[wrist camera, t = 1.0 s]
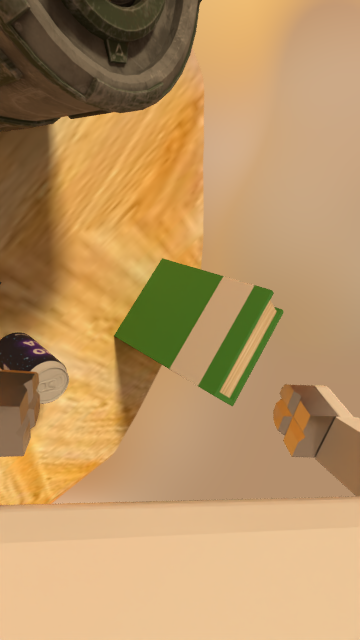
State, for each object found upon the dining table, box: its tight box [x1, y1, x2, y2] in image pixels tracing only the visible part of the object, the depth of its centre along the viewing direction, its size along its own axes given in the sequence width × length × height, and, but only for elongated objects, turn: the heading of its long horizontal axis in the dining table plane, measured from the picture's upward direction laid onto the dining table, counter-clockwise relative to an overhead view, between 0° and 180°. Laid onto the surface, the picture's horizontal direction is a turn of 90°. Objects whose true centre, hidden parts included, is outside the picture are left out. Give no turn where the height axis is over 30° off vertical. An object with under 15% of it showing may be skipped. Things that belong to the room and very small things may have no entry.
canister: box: [0, 0, 202, 132], centre depth 24 cm, size 16×16×28 cm
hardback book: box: [114, 259, 283, 406], centre depth 56 cm, size 18×7×24 cm, turn 134°
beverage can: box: [0, 333, 69, 404], centre depth 42 cm, size 6×6×12 cm
